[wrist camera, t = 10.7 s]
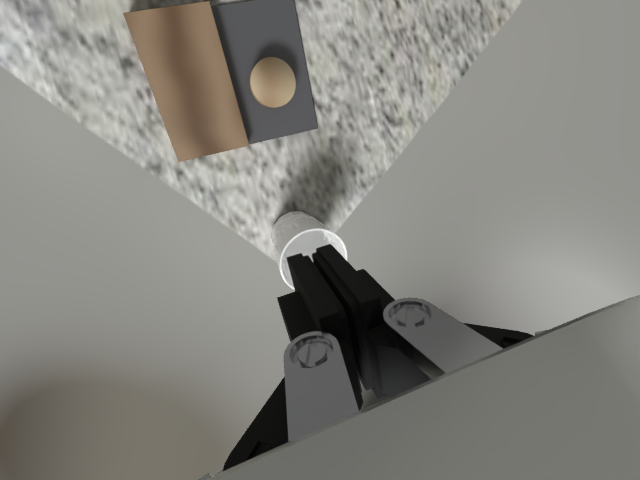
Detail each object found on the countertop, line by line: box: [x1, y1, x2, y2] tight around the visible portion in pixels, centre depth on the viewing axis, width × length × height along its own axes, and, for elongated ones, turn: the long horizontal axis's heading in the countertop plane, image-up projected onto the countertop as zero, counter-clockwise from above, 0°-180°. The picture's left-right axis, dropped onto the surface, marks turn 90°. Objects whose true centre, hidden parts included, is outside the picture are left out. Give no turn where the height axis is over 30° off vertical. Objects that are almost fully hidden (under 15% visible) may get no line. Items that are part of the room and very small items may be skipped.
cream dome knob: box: [249, 57, 296, 108], centre depth 36 cm, size 5×5×2 cm
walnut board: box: [123, 1, 249, 162], centre depth 34 cm, size 8×14×2 cm, turn 11°
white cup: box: [271, 211, 347, 290], centre depth 40 cm, size 8×8×10 cm
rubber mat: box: [211, 0, 318, 144], centre depth 36 cm, size 9×14×1 cm, turn 11°
